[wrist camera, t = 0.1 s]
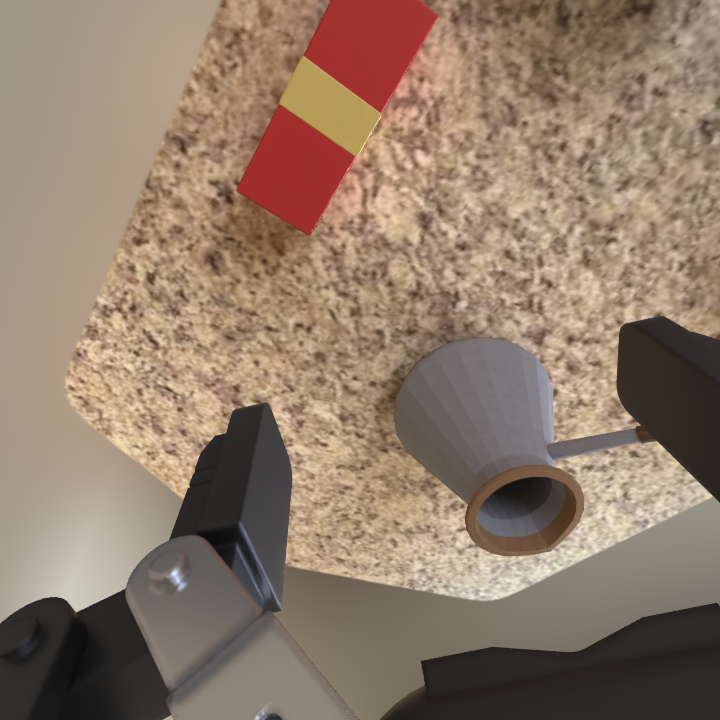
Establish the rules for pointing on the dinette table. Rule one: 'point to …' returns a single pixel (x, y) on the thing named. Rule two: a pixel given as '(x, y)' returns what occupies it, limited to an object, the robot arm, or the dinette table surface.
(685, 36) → the dinette table surface
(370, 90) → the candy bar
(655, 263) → the dinette table surface
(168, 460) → the dinette table surface
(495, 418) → the coffee pot
